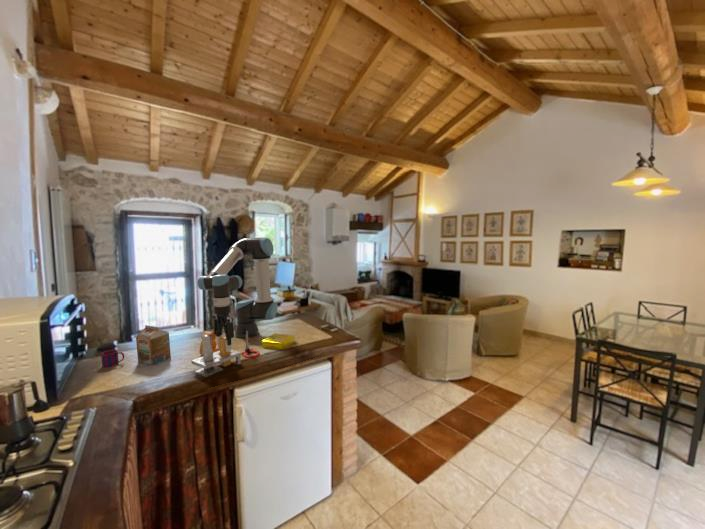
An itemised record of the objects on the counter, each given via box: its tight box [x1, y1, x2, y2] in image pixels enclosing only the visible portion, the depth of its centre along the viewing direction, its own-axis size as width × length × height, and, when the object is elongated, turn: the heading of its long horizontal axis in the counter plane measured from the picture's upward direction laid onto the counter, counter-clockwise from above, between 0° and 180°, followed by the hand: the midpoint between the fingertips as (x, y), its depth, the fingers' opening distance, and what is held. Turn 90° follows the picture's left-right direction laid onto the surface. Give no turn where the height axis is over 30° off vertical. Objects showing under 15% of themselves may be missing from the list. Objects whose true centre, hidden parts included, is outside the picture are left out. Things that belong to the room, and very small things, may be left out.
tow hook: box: [241, 331, 260, 359], centre depth 167 cm, size 8×13×9 cm
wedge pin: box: [219, 336, 232, 367], centre depth 154 cm, size 4×4×14 cm
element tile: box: [261, 333, 295, 350], centre depth 183 cm, size 15×15×5 cm
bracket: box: [199, 330, 220, 355], centre depth 172 cm, size 11×7×12 cm, turn 164°
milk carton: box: [135, 324, 172, 367], centre depth 161 cm, size 11×11×19 cm
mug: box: [100, 349, 125, 369], centre depth 157 cm, size 7×10×7 cm
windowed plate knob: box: [191, 334, 242, 378], centre depth 150 cm, size 19×12×18 cm, turn 146°
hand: (224, 349), depth 154 cm, fingers open, 6 cm apart
